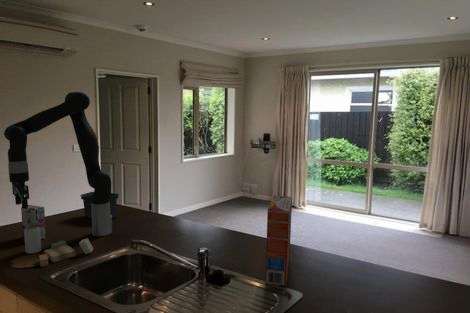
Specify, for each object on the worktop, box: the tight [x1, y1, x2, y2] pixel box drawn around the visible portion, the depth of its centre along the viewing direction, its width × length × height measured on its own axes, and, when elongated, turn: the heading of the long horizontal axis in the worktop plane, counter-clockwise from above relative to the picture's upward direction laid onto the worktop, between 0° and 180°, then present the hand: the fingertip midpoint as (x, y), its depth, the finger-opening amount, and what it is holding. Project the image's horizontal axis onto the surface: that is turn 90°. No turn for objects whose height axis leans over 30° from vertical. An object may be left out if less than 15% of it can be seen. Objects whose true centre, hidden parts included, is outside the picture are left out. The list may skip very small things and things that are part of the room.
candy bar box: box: [20, 204, 47, 240], centre depth 184 cm, size 11×5×16 cm, turn 68°
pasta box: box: [264, 195, 293, 287], centre depth 150 cm, size 23×8×30 cm, turn 168°
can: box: [24, 225, 42, 255], centre depth 168 cm, size 6×6×12 cm
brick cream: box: [78, 237, 94, 255], centre depth 167 cm, size 6×3×3 cm
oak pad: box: [43, 244, 77, 263], centre depth 164 cm, size 10×10×2 cm
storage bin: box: [79, 191, 120, 219], centre depth 221 cm, size 21×16×14 cm
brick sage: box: [50, 240, 67, 249], centre depth 172 cm, size 6×3×3 cm, turn 157°
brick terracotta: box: [38, 253, 49, 267], centre depth 156 cm, size 6×3×3 cm, turn 32°
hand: (21, 206), depth 163 cm, fingers open, 8 cm apart
